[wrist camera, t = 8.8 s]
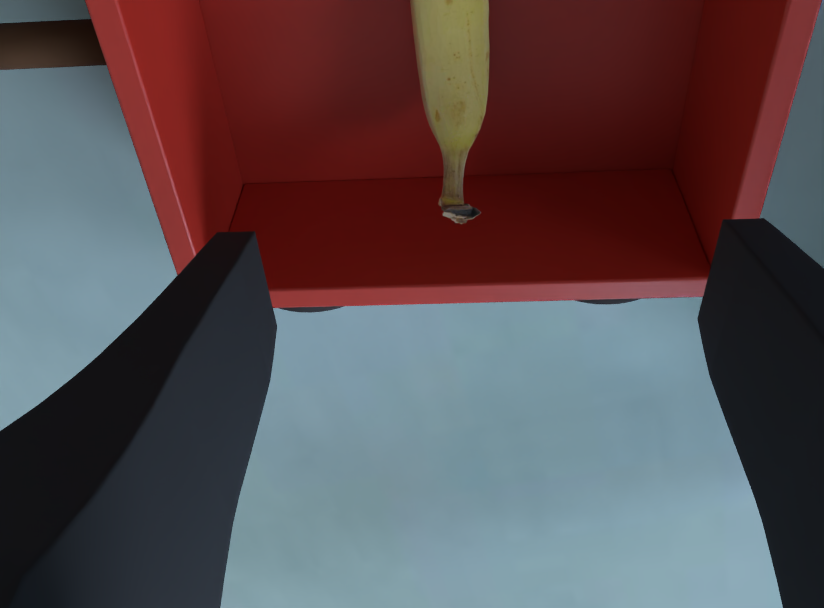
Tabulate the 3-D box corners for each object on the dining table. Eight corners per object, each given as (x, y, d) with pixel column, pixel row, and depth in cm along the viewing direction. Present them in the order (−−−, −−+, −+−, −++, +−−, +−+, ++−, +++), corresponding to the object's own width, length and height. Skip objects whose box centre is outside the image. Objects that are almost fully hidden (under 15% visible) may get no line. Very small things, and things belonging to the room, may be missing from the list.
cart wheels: (785, -500, 13) (885, -526, 10) (657, 210, 23) (689, 303, 20) (-233, -413, 14) (-410, -414, 11) (55, 230, 24) (0, 321, 21)
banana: (488, 134, 20) (497, 227, 17) (421, 137, 20) (418, 230, 18) (487, -249, 15) (499, -209, 12) (395, -242, 15) (385, -200, 12)
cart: (797, -395, 14) (936, -389, 10) (684, 169, 22) (738, 296, 18) (99, -341, 15) (-24, -316, 11) (232, 185, 23) (188, 311, 19)
